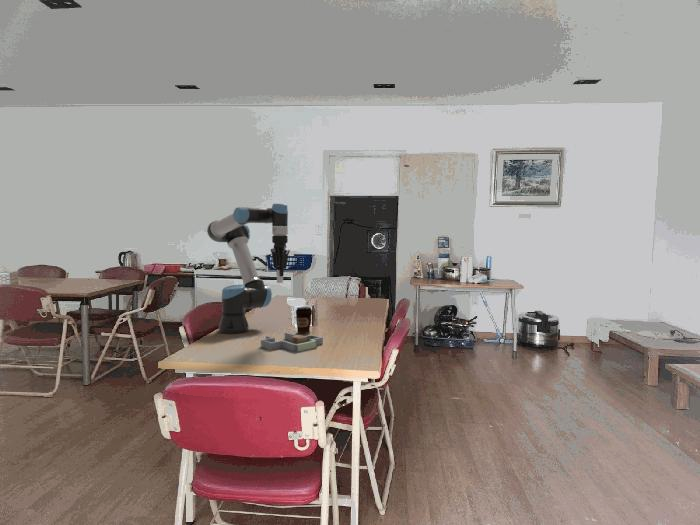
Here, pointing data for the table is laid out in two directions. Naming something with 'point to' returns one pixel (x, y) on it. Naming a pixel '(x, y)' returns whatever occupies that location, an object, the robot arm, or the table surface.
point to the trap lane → (311, 343)
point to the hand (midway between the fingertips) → (280, 282)
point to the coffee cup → (303, 319)
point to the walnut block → (298, 339)
